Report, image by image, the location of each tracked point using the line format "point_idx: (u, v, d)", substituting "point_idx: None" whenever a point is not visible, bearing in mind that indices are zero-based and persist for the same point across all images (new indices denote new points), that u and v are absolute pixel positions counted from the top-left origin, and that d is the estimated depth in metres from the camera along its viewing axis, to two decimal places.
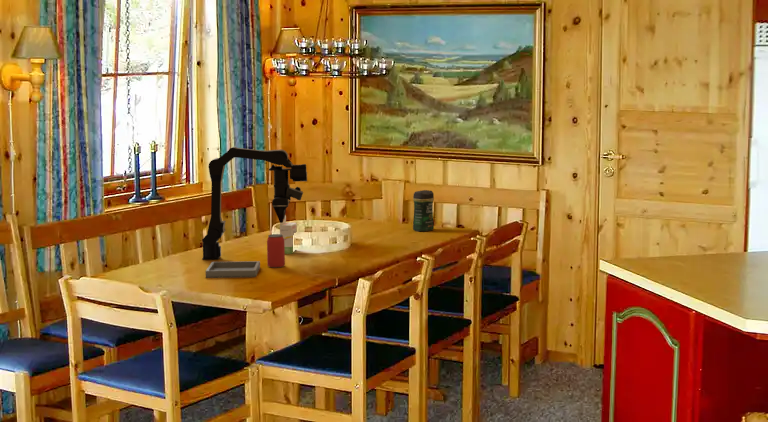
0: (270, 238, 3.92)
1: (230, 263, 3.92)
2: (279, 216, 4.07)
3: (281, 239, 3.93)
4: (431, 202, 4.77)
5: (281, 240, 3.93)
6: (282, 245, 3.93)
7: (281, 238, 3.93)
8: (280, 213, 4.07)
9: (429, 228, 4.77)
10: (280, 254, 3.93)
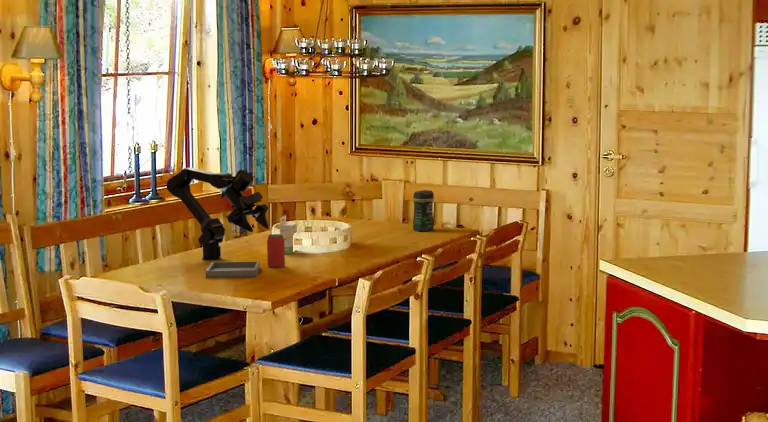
0: (270, 238, 3.92)
1: (230, 263, 3.92)
2: (246, 227, 3.95)
3: (281, 239, 3.93)
4: (431, 202, 4.77)
5: (281, 240, 3.93)
6: (282, 245, 3.93)
7: (281, 238, 3.93)
8: (244, 224, 3.95)
9: (429, 228, 4.77)
10: (280, 254, 3.93)
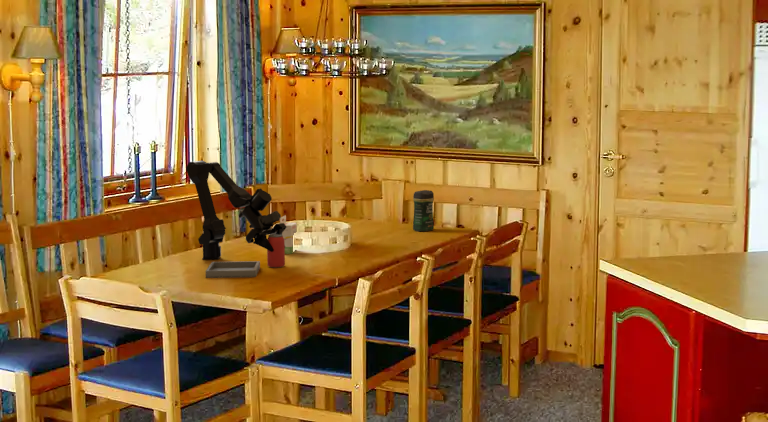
0: (270, 238, 3.92)
1: (230, 263, 3.92)
2: (267, 246, 3.92)
3: (281, 239, 3.93)
4: (431, 202, 4.77)
5: (281, 240, 3.93)
6: (282, 245, 3.93)
7: (281, 238, 3.93)
8: (265, 244, 3.92)
9: (429, 228, 4.77)
10: (280, 254, 3.93)
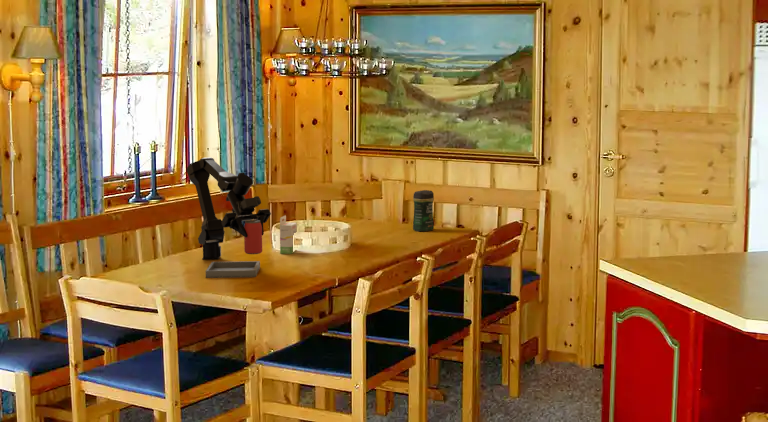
0: (246, 224, 3.85)
1: (230, 263, 3.92)
2: (241, 232, 3.85)
3: (256, 225, 3.84)
4: (431, 202, 4.77)
5: (256, 226, 3.84)
6: (257, 231, 3.84)
7: (256, 224, 3.84)
8: (239, 229, 3.85)
9: (429, 228, 4.77)
10: (254, 241, 3.84)
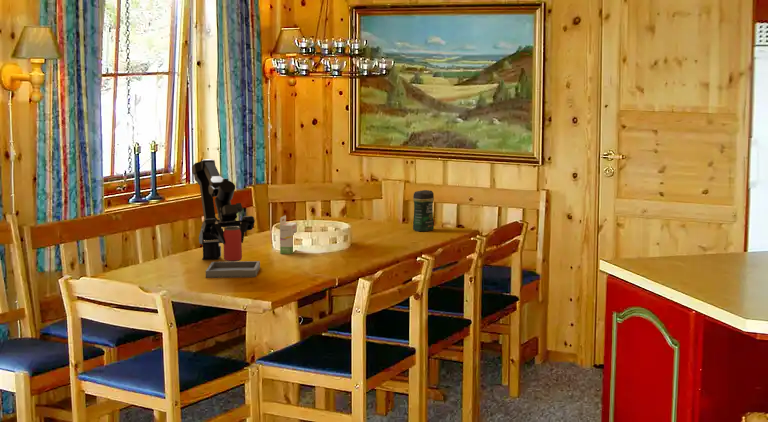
0: (224, 230, 3.82)
1: (230, 263, 3.92)
2: (220, 238, 3.82)
3: (233, 232, 3.80)
4: (431, 202, 4.77)
5: (233, 233, 3.80)
6: (234, 238, 3.80)
7: (233, 231, 3.80)
8: (218, 235, 3.82)
9: (429, 228, 4.77)
10: (231, 248, 3.80)
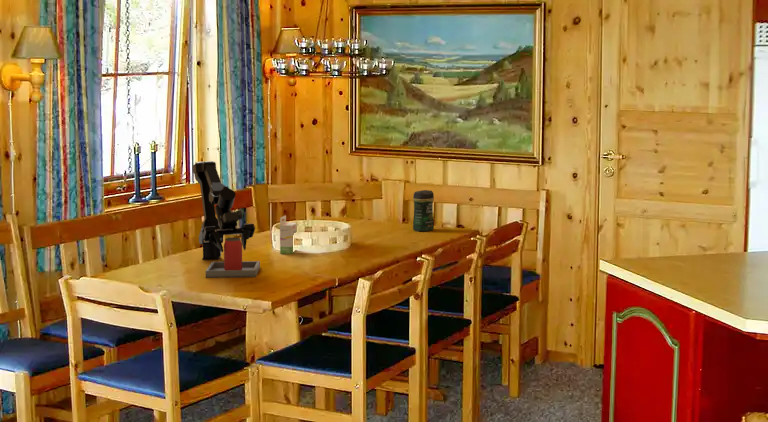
0: (225, 241, 3.82)
1: None
2: (218, 246, 3.82)
3: (234, 243, 3.80)
4: (431, 202, 4.77)
5: (234, 244, 3.80)
6: (235, 249, 3.81)
7: (234, 242, 3.80)
8: (217, 243, 3.82)
9: (429, 228, 4.77)
10: (232, 259, 3.81)
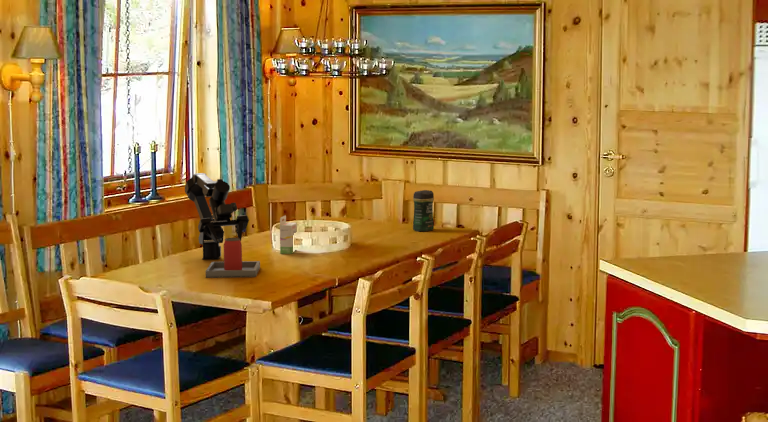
0: None
1: None
2: (213, 237, 3.91)
3: (233, 243, 3.80)
4: (431, 202, 4.77)
5: (234, 244, 3.80)
6: (234, 249, 3.81)
7: (234, 242, 3.81)
8: (211, 234, 3.91)
9: (429, 228, 4.77)
10: (231, 259, 3.81)
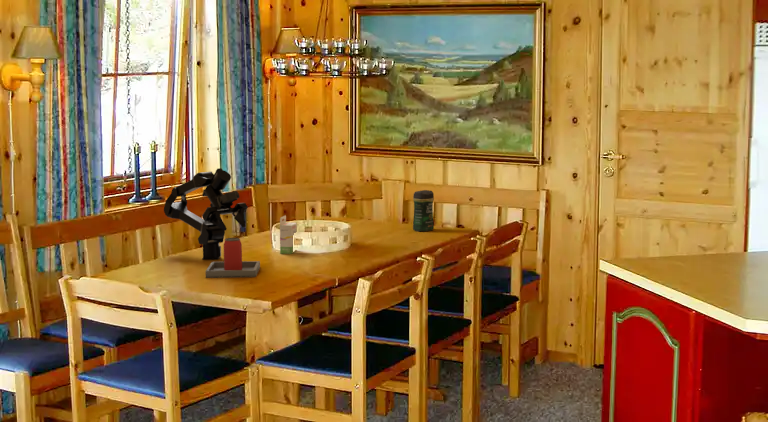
0: None
1: None
2: (220, 225, 3.99)
3: (233, 243, 3.80)
4: (431, 202, 4.77)
5: (234, 244, 3.80)
6: (234, 249, 3.81)
7: (234, 242, 3.81)
8: (218, 222, 3.99)
9: (429, 228, 4.77)
10: (231, 259, 3.81)
